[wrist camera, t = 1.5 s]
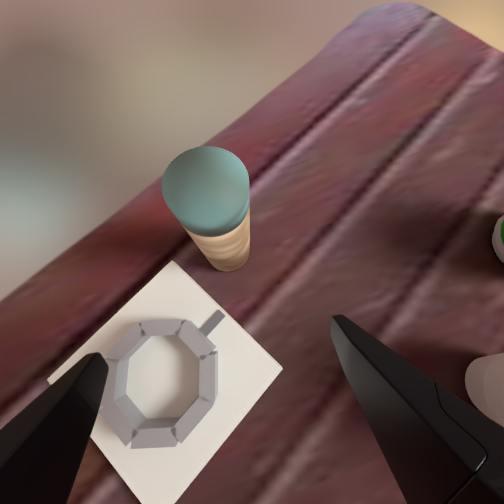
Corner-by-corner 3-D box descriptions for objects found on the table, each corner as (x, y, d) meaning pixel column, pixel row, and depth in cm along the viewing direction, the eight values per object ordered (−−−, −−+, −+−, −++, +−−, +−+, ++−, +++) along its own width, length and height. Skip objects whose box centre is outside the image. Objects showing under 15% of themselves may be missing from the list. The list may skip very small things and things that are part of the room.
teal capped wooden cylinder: (228, 281, 23) (204, 241, 11) (198, 252, 24) (143, 184, 12) (258, 249, 24) (266, 180, 12) (228, 222, 25) (206, 132, 12)
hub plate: (163, 511, 18) (146, 548, 15) (58, 375, 20) (26, 385, 18) (280, 365, 21) (285, 373, 18) (176, 262, 23) (165, 255, 20)
